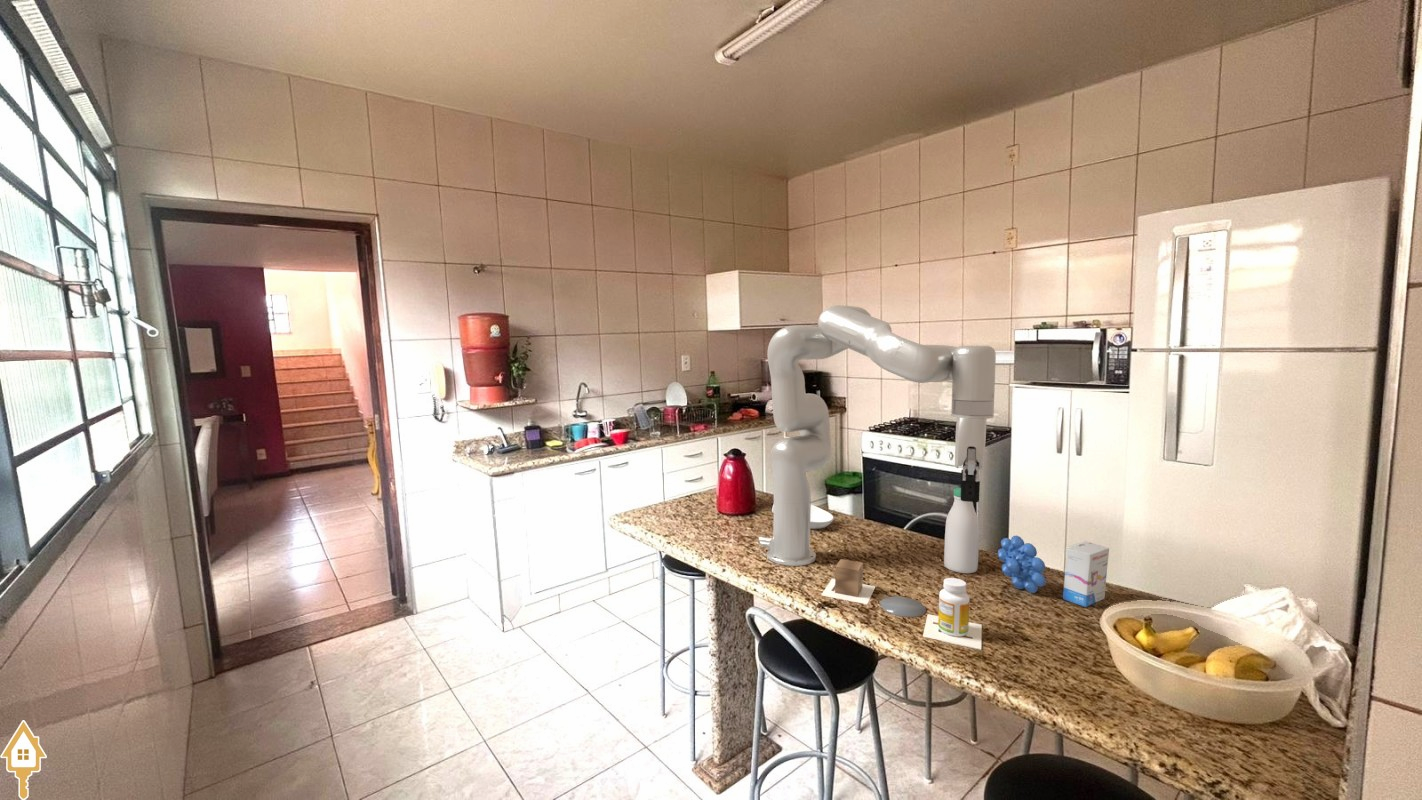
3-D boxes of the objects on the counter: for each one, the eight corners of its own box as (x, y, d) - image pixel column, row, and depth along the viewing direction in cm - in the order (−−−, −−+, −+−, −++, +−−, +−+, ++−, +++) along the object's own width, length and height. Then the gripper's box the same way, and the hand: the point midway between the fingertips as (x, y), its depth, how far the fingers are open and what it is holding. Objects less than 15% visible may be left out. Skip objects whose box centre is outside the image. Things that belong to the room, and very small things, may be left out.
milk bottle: (981, 575, 136) (985, 494, 134) (947, 572, 137) (950, 492, 135) (973, 563, 143) (976, 486, 141) (940, 561, 145) (944, 484, 143)
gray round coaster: (877, 612, 116) (877, 610, 116) (884, 595, 125) (884, 593, 125) (923, 621, 113) (923, 619, 113) (927, 603, 121) (927, 601, 121)
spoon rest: (841, 528, 171) (841, 505, 171) (812, 535, 165) (813, 511, 164) (789, 509, 191) (789, 489, 190) (762, 515, 185) (762, 494, 184)
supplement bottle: (964, 624, 111) (966, 577, 110) (971, 638, 106) (973, 588, 105) (935, 622, 112) (937, 575, 111) (940, 635, 107) (942, 586, 106)
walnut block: (835, 592, 125) (835, 566, 125) (840, 584, 130) (840, 559, 129) (857, 597, 123) (858, 570, 123) (862, 588, 128) (862, 562, 127)
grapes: (984, 582, 132) (986, 532, 130) (1004, 577, 134) (1006, 528, 133) (1030, 603, 121) (1033, 548, 120) (1051, 597, 124) (1054, 544, 123)
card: (922, 637, 107) (922, 636, 106) (927, 615, 115) (927, 613, 115) (981, 650, 102) (981, 648, 102) (981, 625, 111) (981, 624, 111)
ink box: (1086, 608, 119) (1090, 554, 117) (1061, 599, 123) (1065, 546, 122) (1106, 599, 123) (1110, 546, 122) (1081, 590, 127) (1084, 539, 126)
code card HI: (820, 596, 124) (820, 594, 124) (832, 579, 133) (832, 578, 133) (867, 605, 120) (867, 604, 120) (875, 587, 129) (875, 586, 129)
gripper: (952, 404, 119) (949, 484, 121) (950, 412, 103) (947, 504, 105) (991, 405, 116) (988, 487, 118) (996, 414, 100) (992, 508, 102)
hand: (969, 495), depth 111 cm, fingers open, 9 cm apart
